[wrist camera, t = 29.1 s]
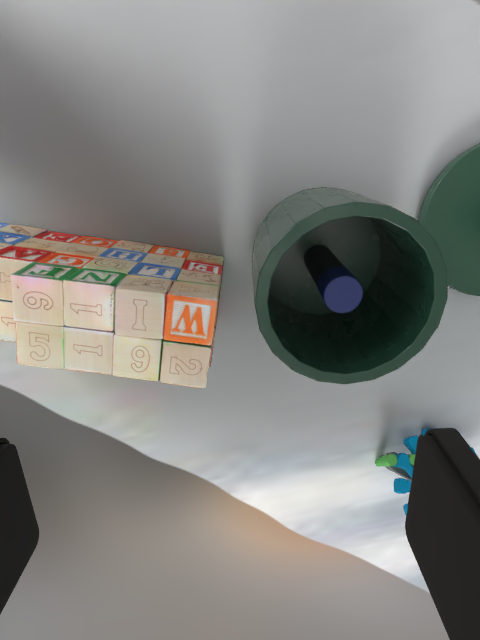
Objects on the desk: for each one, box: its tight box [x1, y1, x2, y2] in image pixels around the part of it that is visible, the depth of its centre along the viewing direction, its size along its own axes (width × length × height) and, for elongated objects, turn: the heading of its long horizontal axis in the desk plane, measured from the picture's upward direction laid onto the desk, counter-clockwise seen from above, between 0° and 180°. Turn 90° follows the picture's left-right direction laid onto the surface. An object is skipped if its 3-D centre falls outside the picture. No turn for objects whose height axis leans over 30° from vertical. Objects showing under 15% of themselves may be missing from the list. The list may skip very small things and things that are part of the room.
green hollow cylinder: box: [252, 187, 447, 384], centre depth 31 cm, size 12×12×12 cm
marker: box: [304, 245, 363, 313], centre depth 31 cm, size 2×2×10 cm
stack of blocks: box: [0, 223, 224, 388], centre depth 32 cm, size 21×6×12 cm, turn 81°
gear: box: [375, 428, 476, 515], centre depth 42 cm, size 11×6×10 cm
